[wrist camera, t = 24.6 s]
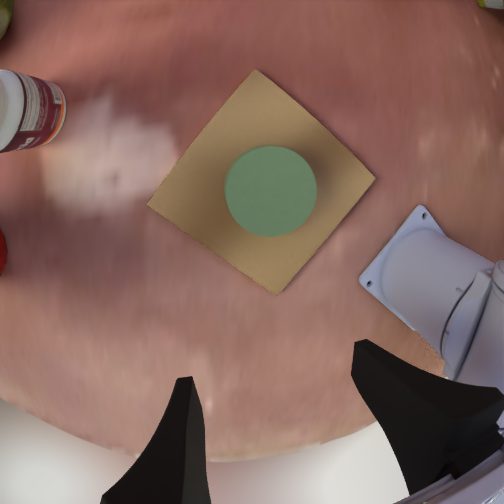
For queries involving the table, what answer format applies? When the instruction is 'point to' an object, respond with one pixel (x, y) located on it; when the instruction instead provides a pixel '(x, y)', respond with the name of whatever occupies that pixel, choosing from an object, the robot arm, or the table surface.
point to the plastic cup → (2, 252)
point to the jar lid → (270, 190)
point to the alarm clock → (491, 3)
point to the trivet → (223, 155)
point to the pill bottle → (28, 111)
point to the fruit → (5, 15)
